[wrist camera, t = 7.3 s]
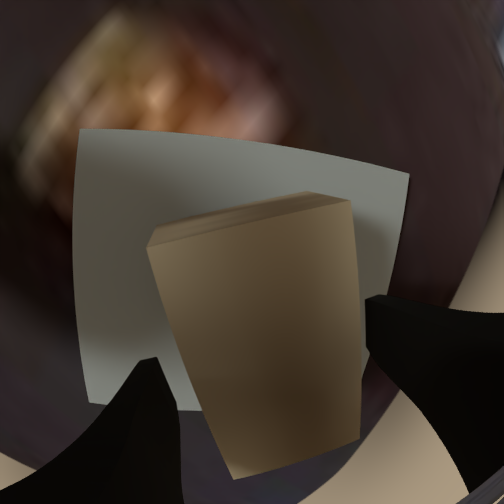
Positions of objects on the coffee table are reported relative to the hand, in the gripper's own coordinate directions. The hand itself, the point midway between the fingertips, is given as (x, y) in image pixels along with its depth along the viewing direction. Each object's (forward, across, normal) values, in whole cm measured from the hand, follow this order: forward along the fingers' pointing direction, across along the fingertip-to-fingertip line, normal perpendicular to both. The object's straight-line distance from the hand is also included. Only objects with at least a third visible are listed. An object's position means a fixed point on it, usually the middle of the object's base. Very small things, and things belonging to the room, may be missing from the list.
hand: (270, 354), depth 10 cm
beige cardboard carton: (+5, 0, 0) cm, 5 cm away
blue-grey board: (+6, 0, 0) cm, 6 cm away
